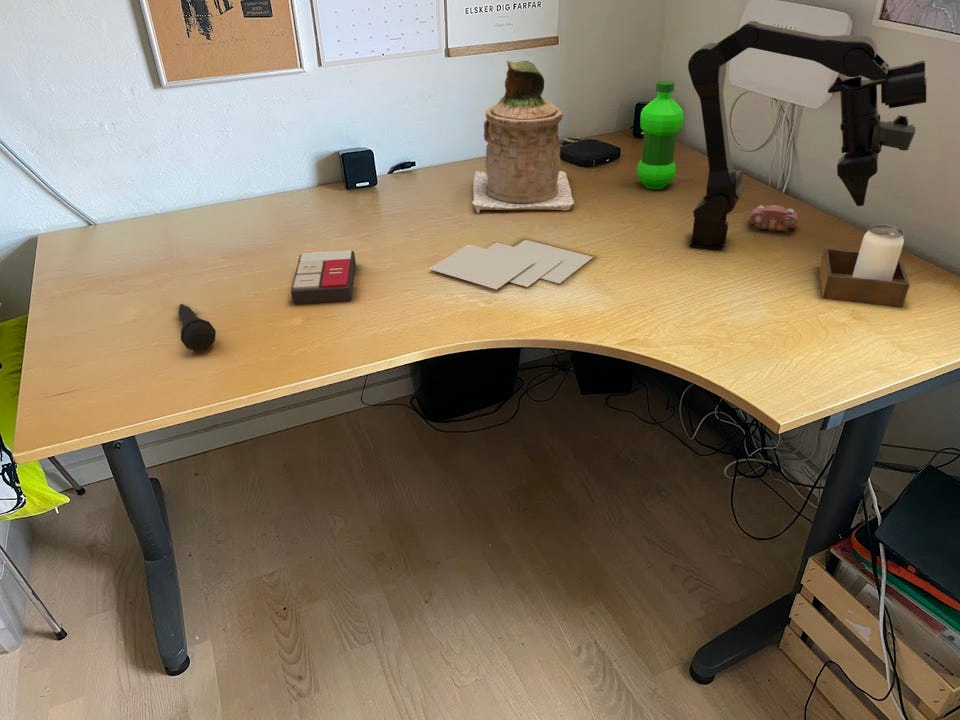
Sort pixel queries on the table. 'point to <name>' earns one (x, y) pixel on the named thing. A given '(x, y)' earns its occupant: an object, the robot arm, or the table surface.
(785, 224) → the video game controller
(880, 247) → the can
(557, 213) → the table surface
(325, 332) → the table surface
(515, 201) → the cookie jar
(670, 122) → the plastic bottle
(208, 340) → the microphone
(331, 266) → the calculator
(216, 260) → the table surface
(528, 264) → the paper stack
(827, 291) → the tray
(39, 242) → the table surface
